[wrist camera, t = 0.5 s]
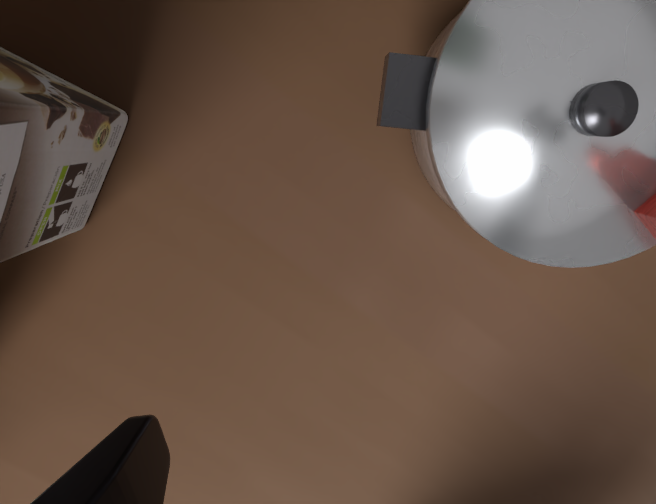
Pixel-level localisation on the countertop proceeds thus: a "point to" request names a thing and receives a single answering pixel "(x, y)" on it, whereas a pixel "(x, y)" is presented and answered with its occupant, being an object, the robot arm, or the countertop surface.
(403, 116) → the pot
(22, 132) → the coffee box
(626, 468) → the countertop surface
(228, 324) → the countertop surface
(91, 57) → the countertop surface
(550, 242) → the lid
